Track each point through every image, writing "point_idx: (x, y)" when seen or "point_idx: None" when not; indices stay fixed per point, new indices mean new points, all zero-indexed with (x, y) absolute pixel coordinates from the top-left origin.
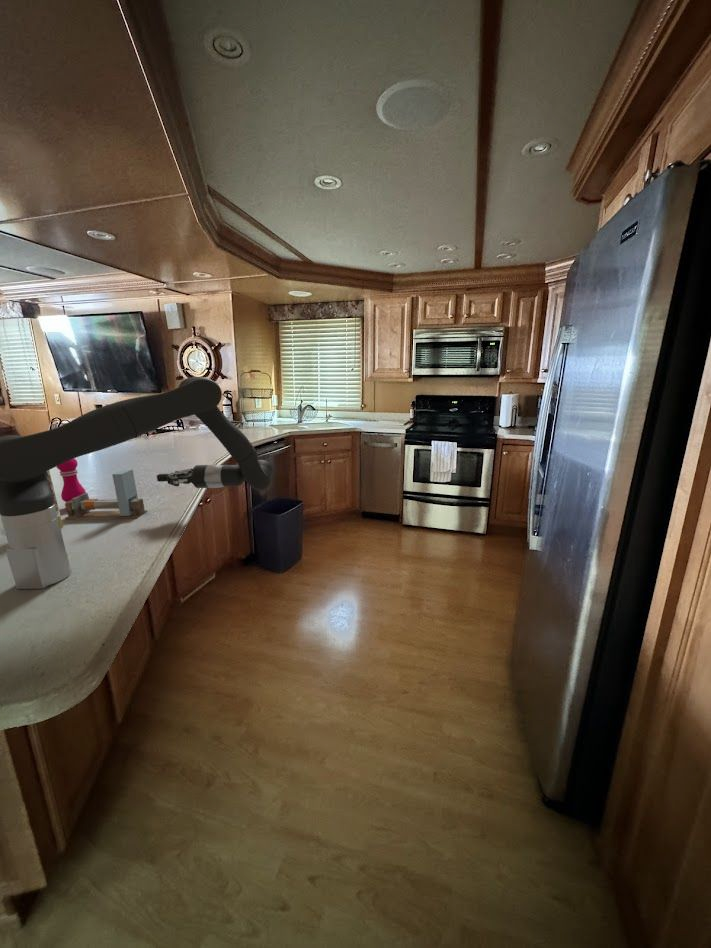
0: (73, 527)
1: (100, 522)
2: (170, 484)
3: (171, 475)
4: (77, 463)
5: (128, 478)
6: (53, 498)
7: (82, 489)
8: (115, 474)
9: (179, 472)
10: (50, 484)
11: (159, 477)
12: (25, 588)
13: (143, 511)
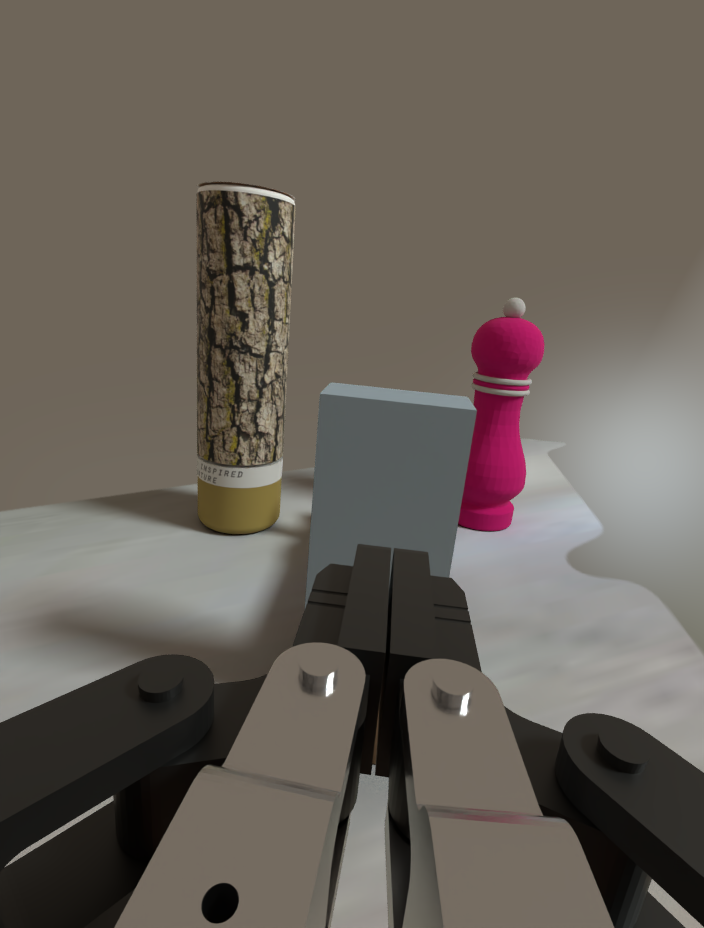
0: (243, 555)
1: (273, 607)
2: (10, 893)
3: (247, 733)
4: (531, 355)
5: (390, 458)
6: (232, 411)
7: (498, 464)
8: (328, 387)
9: (435, 917)
10: (236, 350)
11: (312, 590)
12: None
13: (374, 747)
